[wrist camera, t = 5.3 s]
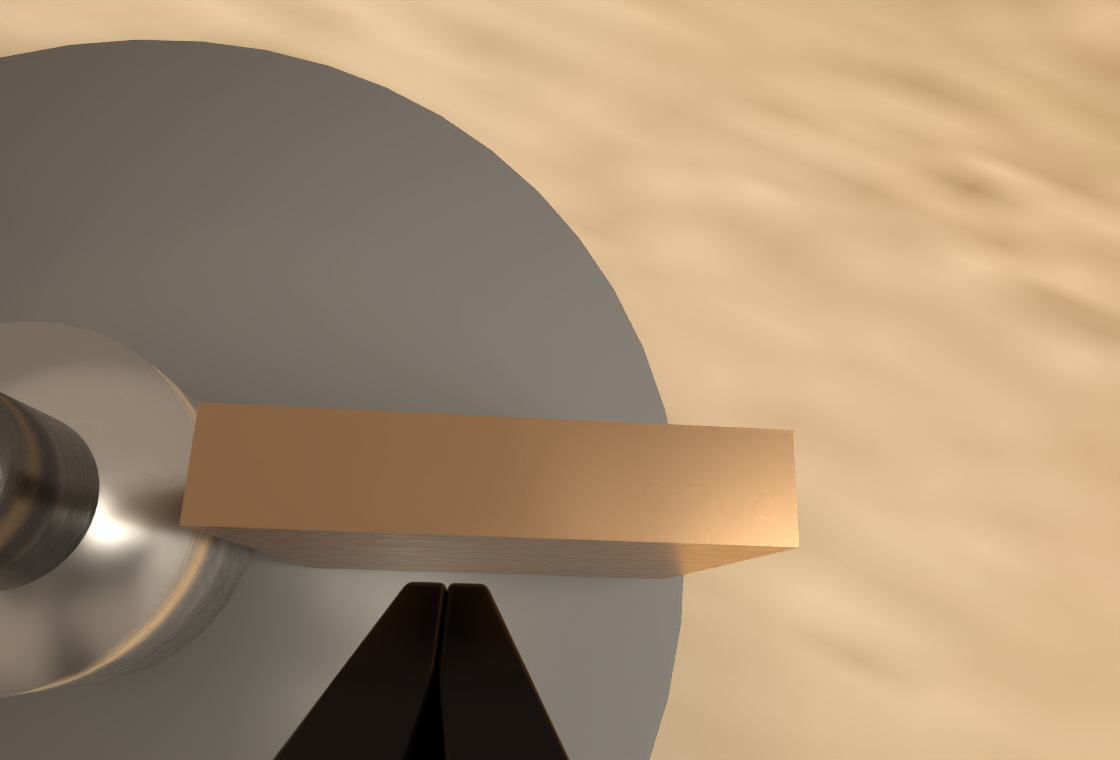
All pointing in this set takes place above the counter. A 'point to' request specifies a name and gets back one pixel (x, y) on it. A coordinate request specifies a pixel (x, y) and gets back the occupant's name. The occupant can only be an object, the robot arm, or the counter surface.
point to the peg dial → (321, 501)
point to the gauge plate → (315, 357)
